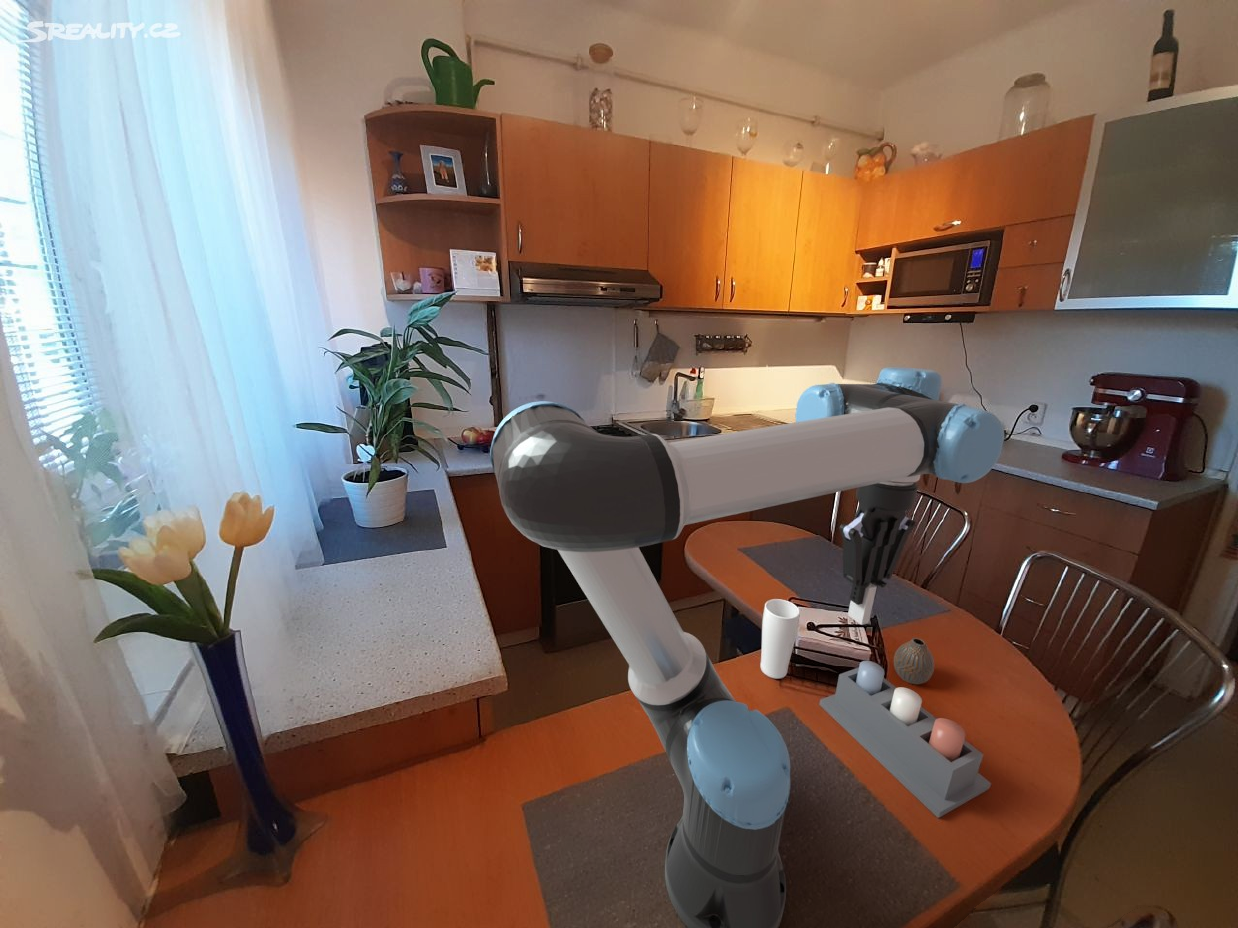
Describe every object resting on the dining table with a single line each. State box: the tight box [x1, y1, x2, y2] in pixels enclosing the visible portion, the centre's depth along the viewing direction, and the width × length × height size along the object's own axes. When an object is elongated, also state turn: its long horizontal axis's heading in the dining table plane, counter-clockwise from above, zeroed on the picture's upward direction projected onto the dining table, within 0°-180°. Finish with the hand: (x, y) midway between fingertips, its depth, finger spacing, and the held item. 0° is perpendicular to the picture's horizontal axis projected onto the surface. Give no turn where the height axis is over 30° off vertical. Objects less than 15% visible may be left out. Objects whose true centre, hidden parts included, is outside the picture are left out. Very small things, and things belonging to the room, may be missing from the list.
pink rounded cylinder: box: [929, 717, 966, 762], centre depth 74 cm, size 4×4×7 cm
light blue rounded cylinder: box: [856, 660, 885, 696], centre depth 87 cm, size 4×4×7 cm
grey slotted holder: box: [819, 667, 992, 819], centre depth 82 cm, size 12×23×7 cm, turn 23°
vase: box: [893, 637, 935, 685], centre depth 96 cm, size 7×7×9 cm
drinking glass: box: [759, 598, 801, 680], centre depth 96 cm, size 7×7×15 cm
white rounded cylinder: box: [890, 686, 923, 726], centre depth 81 cm, size 4×4×7 cm
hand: (858, 618), depth 75 cm, fingers closed
